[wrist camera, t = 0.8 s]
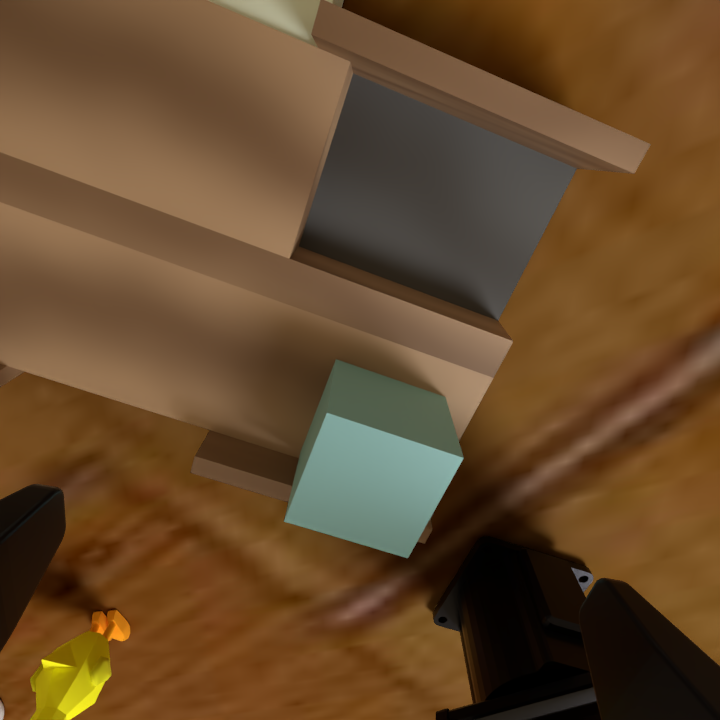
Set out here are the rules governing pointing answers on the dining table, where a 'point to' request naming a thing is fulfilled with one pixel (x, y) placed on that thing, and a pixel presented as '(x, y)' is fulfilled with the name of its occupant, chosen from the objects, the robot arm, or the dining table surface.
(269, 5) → the board
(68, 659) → the toy figure
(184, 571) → the dining table surface
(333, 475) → the block
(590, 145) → the box
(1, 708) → the supplement bottle
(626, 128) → the dining table surface
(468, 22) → the dining table surface
